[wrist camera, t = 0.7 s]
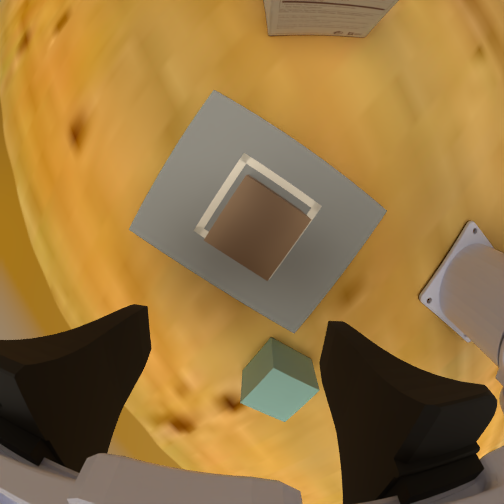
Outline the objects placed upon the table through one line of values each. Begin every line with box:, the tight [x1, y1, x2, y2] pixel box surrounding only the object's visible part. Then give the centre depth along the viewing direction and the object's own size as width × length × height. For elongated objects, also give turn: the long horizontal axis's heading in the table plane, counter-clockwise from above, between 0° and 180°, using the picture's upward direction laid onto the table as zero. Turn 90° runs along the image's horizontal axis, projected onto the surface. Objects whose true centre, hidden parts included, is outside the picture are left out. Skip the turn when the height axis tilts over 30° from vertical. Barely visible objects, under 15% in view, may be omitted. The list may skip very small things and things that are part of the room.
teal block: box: [240, 337, 319, 422], centre depth 21 cm, size 4×4×4 cm
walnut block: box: [204, 174, 311, 281], centre depth 17 cm, size 4×4×4 cm
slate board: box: [129, 90, 387, 333], centre depth 19 cm, size 14×11×1 cm
